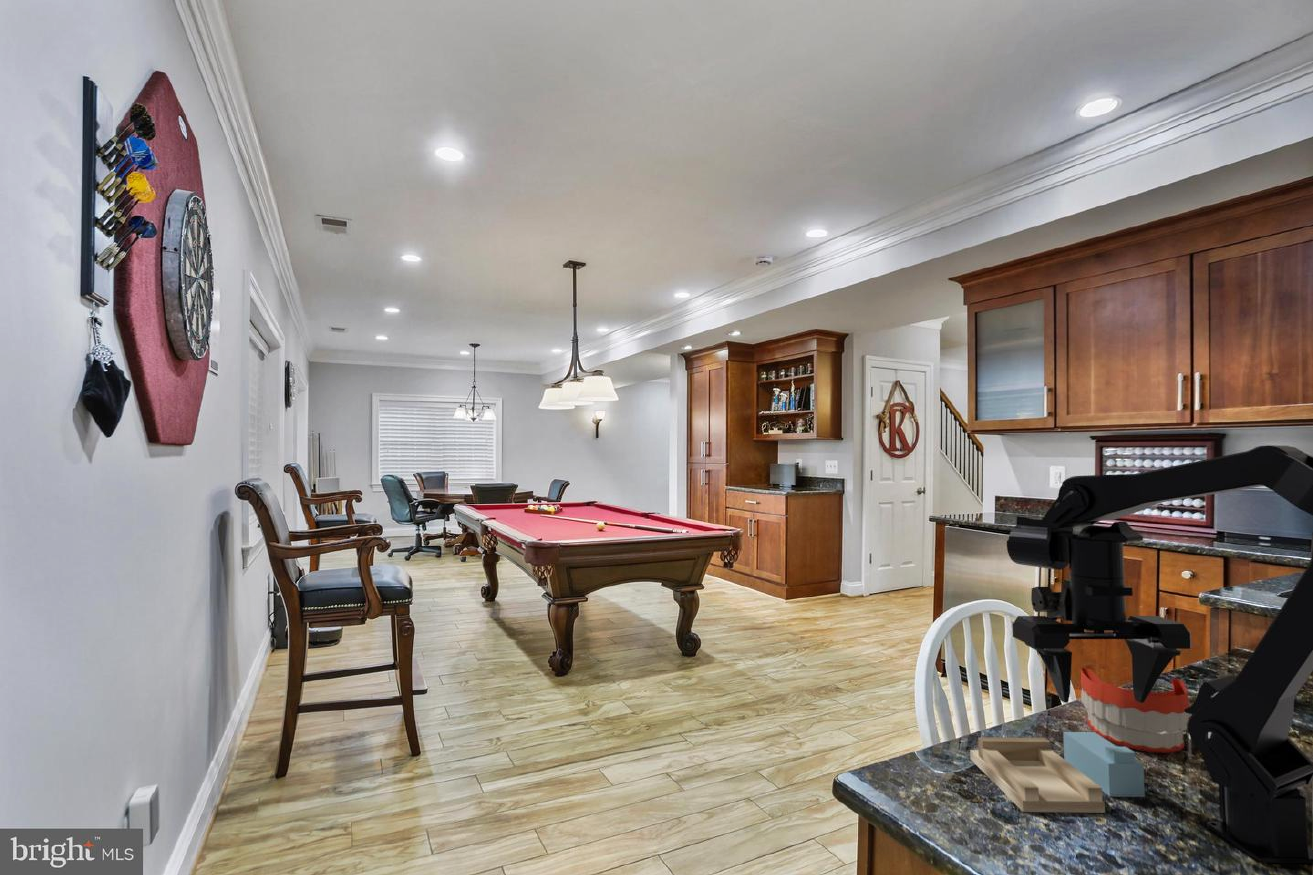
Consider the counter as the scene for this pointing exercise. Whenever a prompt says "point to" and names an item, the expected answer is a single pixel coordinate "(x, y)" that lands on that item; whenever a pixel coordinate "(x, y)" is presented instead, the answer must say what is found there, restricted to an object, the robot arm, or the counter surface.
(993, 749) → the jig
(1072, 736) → the blue stepped block
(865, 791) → the counter surface
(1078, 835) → the counter surface
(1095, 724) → the toy
